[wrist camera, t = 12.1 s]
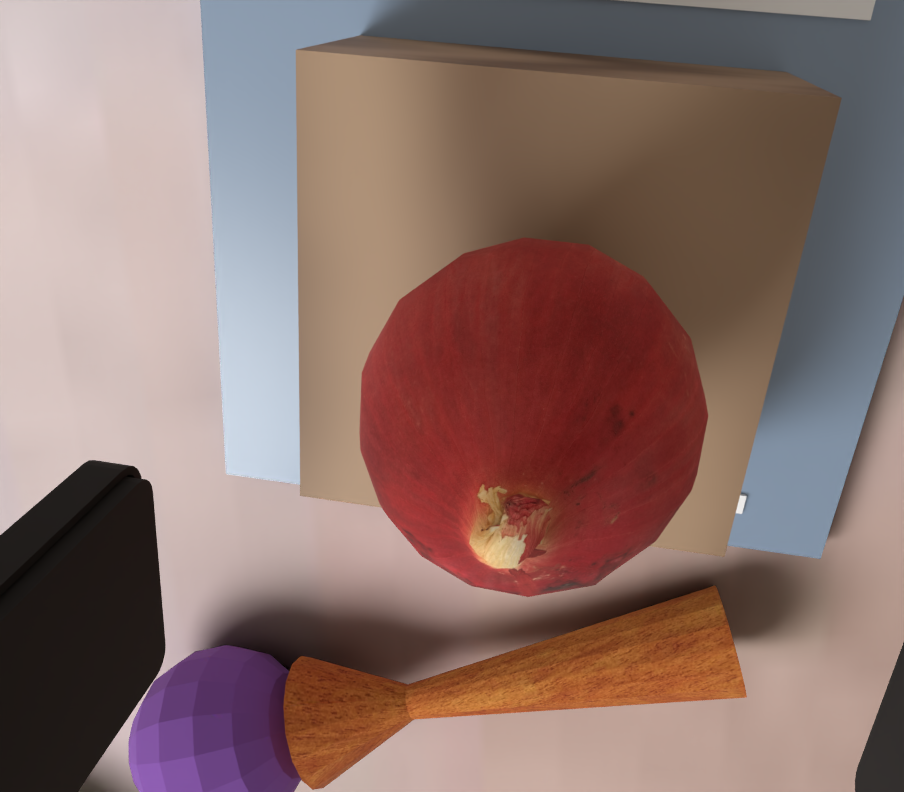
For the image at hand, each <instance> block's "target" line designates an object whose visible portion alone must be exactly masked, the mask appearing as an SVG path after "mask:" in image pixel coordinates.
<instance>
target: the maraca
mask: <svg viewBox="0 0 904 792" xmlns="http://www.w3.org/2000/svg"><path fill="white" fill-rule="evenodd" d="M744 697H747V696H746V690H745V685H744V681H743V677H742V673H741V668H740V665H739V661H738V657H737V653H736V649H735V646H734V642H733V638H732V635H731V631H730V628H729V624H728V621H727V618H726V614H725V611H724V608H723V604H722V601H721V598H720V596H719V593H718V590H717V588H716V586H712V587H709V588H706V589H703V590H700V591H696V592H693V593H690V594H687V595H684V596H681V597H678V598H675V599H672V600H669V601H665V602H662V603H659V604H656V605H653V606H650V607H647V608H644V609H641V610H638V611H634V612H631V613H628V614H625V615H622V616H619V617H616V618H613V619H610V620H607V621H603V622H600V623H597V624H594V625H591V626H588V627H585V628H582V629H579V630H576V631H572V632H569V633H566V634H563V635H560V636H557V637H554V638H551V639H548V640H545V641H541V642H538V643H535V644H532V645H529V646H526V647H523V648H520V649H517V650H514V651H510V652H507V653H504V654H501V655H498V656H495V657H492V658H489V659H486V660H483V661H479V662H476V663H473V664H470V665H467V666H464V667H461V668H458V669H455V670H452V671H448V672H445V673H442V674H439V675H436V676H433V677H430V678H427V679H424V680H421V681H417V682H414V683H411V684H404V683H401V682H397V681H394V680H390V679H387V678H383V677H379V676H376V675H372V674H369V673H365V672H361V671H358V670H354V669H351V668H347V667H344V666H340V665H336V664H333V663H329V662H326V661H322V660H318V659H315V658H311V657H305V656H300V657H299V658H298V659H297V660H296V661H295V662H294V663H293V664H292V666H291V668H290V671H288V670H287V669H286V668H285V667H284V666H283V665H281V664H280V663H279V662H278V661H277V660H276V659H275V658H274V657H272V656H271V655H270V654H266V653H262V652H258V651H254V650H250V649H246V648H241V647H235V646H228V645H224V646H220V647H215V648H210V649H206V650H201V651H196V652H194V653H193V654H191V655H190V656H188V657H187V658H185V659H184V660H182V661H181V662H179V663H178V664H177V665H175V666H174V667H173V668H171V669H170V670H169V671H167V672H166V673H164V674H163V675H162V676H160V677H159V678H158V679H156V680H155V681H154V682H153V684H152V686H151V688H150V690H149V691H148V693H147V695H146V697H145V699H144V700H143V702H142V704H141V706H140V708H139V710H138V712H137V714H136V717H135V719H134V721H133V724H132V728H131V733H130V737H129V765H130V769H131V773H132V777H133V781H134V784H135V785H136V787H137V788H138V790H139V792H294V791H295V789H296V787H297V786H298V784H299V782H300V781H301V780H302V781H303V782H304V783H306V784H307V785H308V786H309V787H310V788H312V789H319V788H324V787H325V786H326V785H328V784H329V783H330V782H332V781H333V780H334V779H336V778H337V777H338V776H340V775H341V774H342V773H344V772H345V771H346V770H348V769H349V768H350V767H352V766H353V765H354V764H356V763H357V762H358V761H359V760H361V759H362V758H363V757H365V756H366V755H367V754H369V753H370V752H371V751H373V750H374V749H375V748H377V747H378V746H379V745H381V744H382V743H383V742H385V741H386V740H387V739H389V738H390V737H391V736H393V735H394V734H395V733H397V732H398V731H399V730H401V729H402V728H403V727H405V726H406V725H407V724H409V723H410V722H411V721H412V720H414V719H425V718H440V717H455V716H470V715H486V714H501V713H516V712H531V711H546V710H562V709H577V708H592V707H607V706H622V705H638V704H653V703H668V702H683V701H699V700H714V699H729V698H744Z"/></svg>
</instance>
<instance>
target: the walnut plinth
mask: <svg viewBox="0 0 904 792" xmlns="http://www.w3.org/2000/svg"><path fill="white" fill-rule="evenodd" d="M841 99H842V98H841V97H839V96H837V95H834V94H832V93H830V92H828V91H826V90H824V89H822V88H820V87H817V86H815V85H813V84H811V83H809V82H807V81H805V80H803V79H800V78H798V77H796V76H794V75H792V74H790V73H788V72H782V71H770V70H758V69H747V68H735V67H724V66H712V65H700V64H689V63H677V62H665V61H654V60H642V59H630V58H619V57H607V56H595V55H584V54H572V53H560V52H549V51H537V50H526V49H514V48H502V47H491V46H479V45H467V44H456V43H444V42H432V41H421V40H409V39H397V38H386V37H374V36H363V35H359V36H355V37H350V38H346V39H341V40H337V41H332V42H328V43H323V44H319V45H315V46H310V47H306V48H301V49H297V50H296V130H297V229H298V327H299V426H300V496H305V497H312V498H319V499H326V500H333V501H340V502H347V503H354V504H361V505H368V506H375V507H381V505H380V503H379V501H378V498H377V495H376V492H375V490H374V487H373V484H372V481H371V478H370V476H369V473H368V470H367V467H366V465H365V462H364V459H363V456H362V454H361V451H360V434H359V431H360V404H361V377H362V371H363V368H364V365H365V363H366V360H367V358H368V355H369V352H370V351H371V349H372V347H373V345H374V343H375V342H376V340H377V338H378V336H379V335H380V333H381V331H382V329H383V328H384V326H385V324H386V322H387V320H388V319H389V317H390V315H391V313H392V312H393V310H394V308H395V306H396V305H397V303H398V301H399V300H400V299H401V298H402V297H404V296H405V295H407V294H408V293H409V292H411V291H412V290H413V289H415V288H416V287H418V286H419V285H420V284H422V283H423V282H425V281H426V280H427V279H429V278H430V277H432V276H433V275H434V274H436V273H437V272H438V271H440V270H441V269H443V268H444V267H445V266H447V265H448V264H450V263H451V262H452V261H454V260H455V259H457V258H458V257H459V256H461V255H462V254H463V253H467V252H471V251H475V250H478V249H482V248H486V247H490V246H494V245H497V244H501V243H505V242H509V241H513V240H516V239H520V238H524V237H525V238H534V239H542V240H551V241H560V242H569V243H578V244H587V245H590V246H592V247H594V248H595V249H597V250H599V251H601V252H602V253H604V254H606V255H607V256H609V257H611V258H613V259H614V260H616V261H618V262H619V263H621V264H623V265H625V266H626V267H628V268H630V269H631V270H633V271H635V272H637V273H638V274H640V275H642V276H643V277H644V278H645V279H646V280H647V281H648V283H649V284H650V285H651V286H652V288H653V289H654V290H655V291H656V293H657V294H658V295H659V297H660V298H661V299H662V301H663V302H664V303H665V305H666V306H667V307H668V309H669V310H670V311H671V313H672V314H673V315H674V317H675V318H676V319H677V321H678V322H679V323H680V325H681V326H682V327H683V328H684V330H685V331H686V332H687V334H688V335H689V336H690V338H691V341H692V345H693V349H694V353H695V357H696V361H697V365H698V369H699V373H700V377H701V382H702V386H703V390H704V394H705V399H706V405H707V411H708V421H707V426H706V431H705V436H704V441H703V446H702V452H701V457H700V462H699V467H698V472H697V476H696V479H695V482H694V485H693V488H692V491H691V492H690V494H689V495H688V496H687V498H686V499H685V501H684V502H683V504H682V505H681V506H680V508H679V509H678V511H677V512H676V513H675V515H674V516H673V518H672V519H671V521H670V522H669V523H668V525H667V526H666V528H665V529H664V530H663V532H662V533H661V535H660V536H659V538H658V539H657V540H656V541H655V542H654V543H653V544H651V545H650V546H652V547H659V548H666V549H673V550H680V551H687V552H694V553H701V554H708V555H715V556H722V557H724V556H725V552H726V548H727V545H728V541H729V537H730V533H731V529H732V525H733V521H734V517H735V513H736V509H737V506H738V502H739V498H740V494H741V490H742V486H743V482H744V478H745V474H746V470H747V466H748V463H749V459H750V455H751V451H752V447H753V443H754V439H755V435H756V431H757V427H758V424H759V420H760V416H761V412H762V408H763V404H764V400H765V396H766V392H767V388H768V384H769V381H770V377H771V373H772V369H773V365H774V361H775V357H776V353H777V349H778V345H779V342H780V338H781V334H782V330H783V326H784V322H785V318H786V314H787V310H788V306H789V302H790V299H791V295H792V291H793V287H794V283H795V279H796V275H797V271H798V267H799V263H800V259H801V256H802V252H803V248H804V244H805V240H806V236H807V232H808V228H809V224H810V220H811V217H812V213H813V209H814V205H815V201H816V197H817V193H818V189H819V185H820V181H821V177H822V174H823V170H824V166H825V162H826V158H827V154H828V150H829V146H830V142H831V138H832V135H833V131H834V127H835V123H836V119H837V115H838V111H839V107H840V103H841Z"/></svg>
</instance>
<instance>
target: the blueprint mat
mask: <svg viewBox="0 0 904 792" xmlns="http://www.w3.org/2000/svg"><path fill="white" fill-rule="evenodd" d="M200 4H201V22H202V41H203V59H204V77H205V96H206V114H207V133H208V151H209V170H210V188H211V206H212V225H213V243H214V262H215V280H216V298H217V317H218V335H219V354H220V372H221V390H222V409H223V427H224V446H225V464H226V474H229V475H236V476H243V477H250V478H257V479H264V480H271V481H278V482H285V483H292V484H299V485H300V426H299V327H298V229H297V130H296V50H297V49H301V48H306V47H310V46H315V45H319V44H323V43H328V42H332V41H337V40H341V39H346V38H350V37H355V36H359V35H363V36H374V37H386V38H397V39H409V40H421V41H432V42H444V43H456V44H467V45H479V46H491V47H502V48H514V49H526V50H537V51H549V52H560V53H572V54H584V55H595V56H607V57H619V58H630V59H642V60H654V61H665V62H677V63H689V64H700V65H712V66H724V67H735V68H747V69H758V70H770V71H782V72H788V73H790V74H792V75H794V76H796V77H798V78H800V79H803V80H805V81H807V82H809V83H811V84H813V85H815V86H817V87H820V88H822V89H824V90H826V91H828V92H830V93H832V94H834V95H837V96H839V97H841V98H842V99H841V103H840V107H839V111H838V115H837V119H836V123H835V127H834V131H833V135H832V138H831V142H830V146H829V150H828V154H827V158H826V162H825V166H824V170H823V174H822V177H821V181H820V185H819V189H818V193H817V197H816V201H815V205H814V209H813V213H812V217H811V220H810V224H809V228H808V232H807V236H806V240H805V244H804V248H803V252H802V256H801V259H800V263H799V267H798V271H797V275H796V279H795V283H794V287H793V291H792V295H791V299H790V302H789V306H788V310H787V314H786V318H785V322H784V326H783V330H782V334H781V338H780V342H779V345H778V349H777V353H776V357H775V361H774V365H773V369H772V373H771V377H770V381H769V384H768V388H767V392H766V396H765V400H764V404H763V408H762V412H761V416H760V420H759V424H758V427H757V431H756V435H755V439H754V443H753V447H752V451H751V455H750V459H749V463H748V466H747V470H746V474H745V478H744V482H743V486H742V490H741V494H740V498H739V502H738V506H737V509H736V513H735V517H734V521H733V525H732V529H731V533H730V537H729V541H728V545H727V546H734V547H741V548H748V549H755V550H762V551H769V552H776V553H783V554H790V555H797V556H804V557H811V558H818V559H821V556H822V552H823V549H824V546H825V543H826V540H827V537H828V533H829V530H830V527H831V524H832V521H833V518H834V515H835V511H836V508H837V505H838V502H839V499H840V496H841V492H842V489H843V486H844V483H845V480H846V477H847V474H848V470H849V467H850V464H851V461H852V458H853V455H854V451H855V448H856V445H857V442H858V439H859V436H860V432H861V429H862V426H863V423H864V420H865V417H866V414H867V410H868V407H869V404H870V401H871V398H872V395H873V391H874V388H875V385H876V382H877V379H878V376H879V373H880V369H881V366H882V363H883V360H884V357H885V354H886V350H887V347H888V344H889V341H890V338H891V335H892V331H893V328H894V325H895V322H896V319H897V316H898V313H899V309H900V306H901V303H902V300H903V297H904V0H200Z"/></svg>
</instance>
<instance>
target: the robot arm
mask: <svg viewBox="0 0 904 792" xmlns="http://www.w3.org/2000/svg"><path fill="white" fill-rule="evenodd" d="M164 655H165V634H164V622H163V609H162V597H161V585H160V573H159V561H158V549H157V537H156V525H155V513H154V501H153V491H152V486H151V484H150V482H149V481H148V480H145V479H141V475H140V473H139V471H138V469H137V468H135V467H134V466H128V465H122V464H115V463H109V462H102V461H96V460H91V461H88V462H86V463H84V464H83V465H82V466H80V467H79V468H78V469H77V470H76V471H75V472H73V473H72V474H71V475H70V476H69V477H68V478H66V479H65V480H64V481H63V482H62V483H61V484H59V485H58V486H57V487H56V488H55V489H54V490H53V491H51V492H50V493H49V494H48V495H47V496H46V497H44V498H43V499H42V500H41V501H40V502H39V503H37V504H36V505H35V506H34V507H33V508H32V509H30V510H29V511H28V512H27V513H26V514H25V515H23V516H22V517H21V518H20V519H19V520H18V521H16V522H15V523H14V524H13V525H12V526H11V527H10V528H8V529H7V530H6V531H5V532H4V533H3V534H1V535H0V792H78V791H79V789H80V788H81V786H82V785H83V783H84V782H85V780H86V779H87V777H88V776H89V774H90V773H91V771H92V770H93V769H94V767H95V766H96V764H97V763H98V761H99V760H100V758H101V757H102V755H103V754H104V752H105V751H106V749H107V748H108V747H109V745H110V744H111V742H112V741H113V739H114V738H115V736H116V735H117V733H118V732H119V730H120V729H121V727H122V726H123V724H124V723H125V722H126V720H127V719H128V717H129V716H130V714H131V713H132V711H133V710H134V708H135V707H136V705H137V704H138V702H139V701H140V699H141V698H142V697H143V695H144V694H145V692H146V691H147V689H148V688H149V686H150V685H151V683H152V682H153V680H154V679H155V677H156V676H157V674H158V672H159V671H160V668H161V666H162V663H163V659H164ZM855 792H904V643H903V646H902V649H901V651H900V654H899V657H898V659H897V662H896V665H895V668H894V670H893V673H892V676H891V678H890V681H889V684H888V686H887V689H886V692H885V695H884V697H883V700H882V703H881V705H880V708H879V711H878V714H877V716H876V719H875V722H874V724H873V727H872V730H871V732H870V735H869V738H868V741H867V743H866V746H865V749H864V751H863V754H862V757H861V759H860V762H859V765H858V768H857V772H856V778H855Z"/></svg>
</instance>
